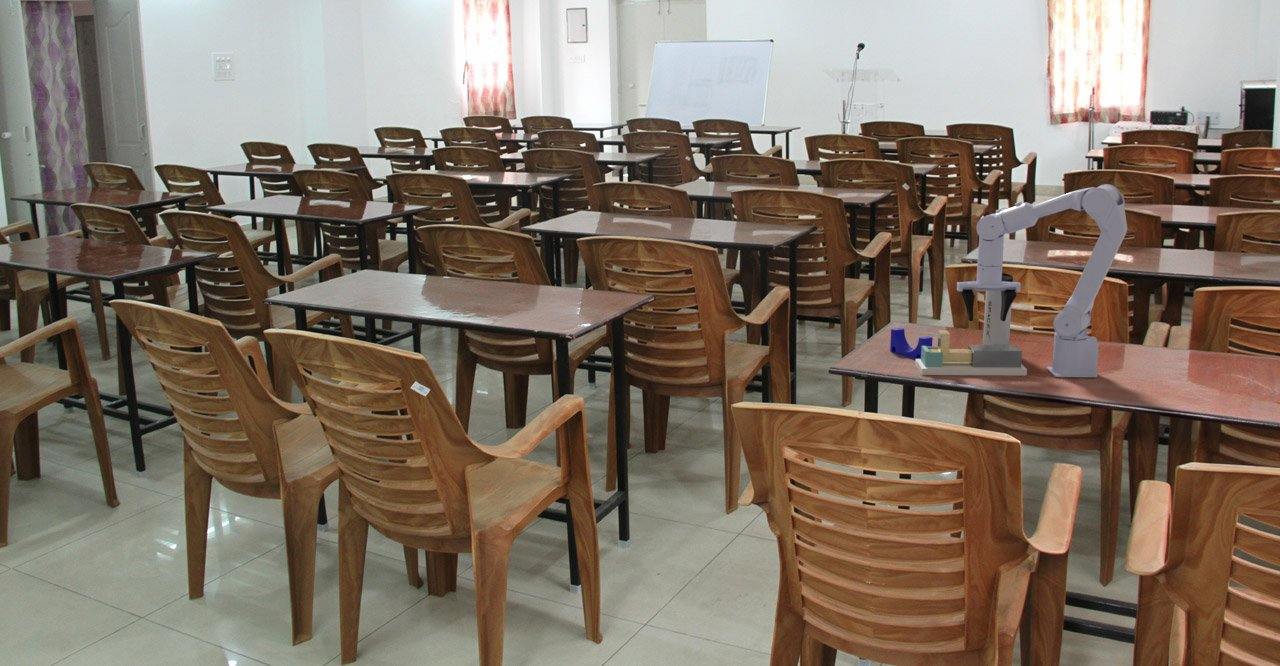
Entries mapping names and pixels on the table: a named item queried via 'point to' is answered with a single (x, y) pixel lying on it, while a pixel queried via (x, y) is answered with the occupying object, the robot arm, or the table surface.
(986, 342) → the travel mug
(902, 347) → the blue curved bracket
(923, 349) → the socket
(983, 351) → the sleeve
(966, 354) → the slide bar
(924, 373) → the base board
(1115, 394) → the table surface
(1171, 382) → the table surface
